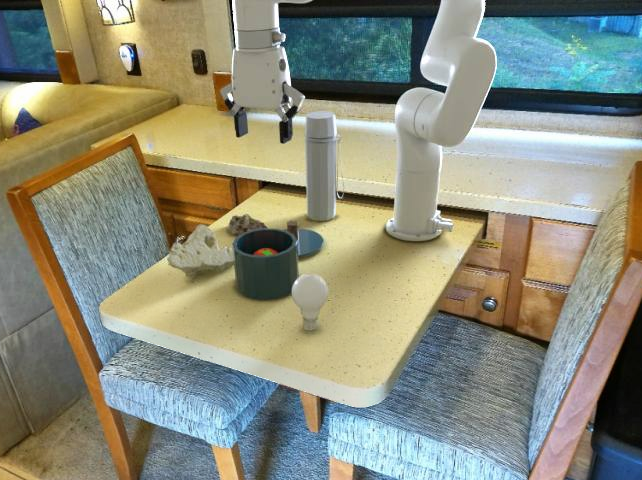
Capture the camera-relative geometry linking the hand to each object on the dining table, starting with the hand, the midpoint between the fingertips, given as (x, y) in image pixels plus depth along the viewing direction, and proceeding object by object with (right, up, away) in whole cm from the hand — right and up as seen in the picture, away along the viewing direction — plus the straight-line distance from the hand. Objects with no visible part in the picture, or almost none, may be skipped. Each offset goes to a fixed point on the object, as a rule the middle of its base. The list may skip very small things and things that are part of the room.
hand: (263, 138), depth 111 cm
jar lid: (+6, -17, +24) cm, 30 cm away
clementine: (+1, -26, +11) cm, 28 cm away
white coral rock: (-13, -25, +15) cm, 32 cm away
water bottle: (+15, -10, +37) cm, 41 cm away
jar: (+1, -27, +11) cm, 29 cm away
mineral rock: (-4, -14, +32) cm, 35 cm away
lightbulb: (+9, -35, -4) cm, 37 cm away
